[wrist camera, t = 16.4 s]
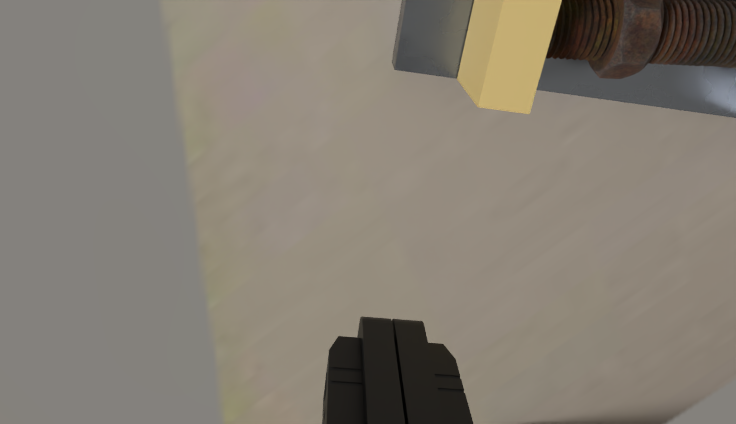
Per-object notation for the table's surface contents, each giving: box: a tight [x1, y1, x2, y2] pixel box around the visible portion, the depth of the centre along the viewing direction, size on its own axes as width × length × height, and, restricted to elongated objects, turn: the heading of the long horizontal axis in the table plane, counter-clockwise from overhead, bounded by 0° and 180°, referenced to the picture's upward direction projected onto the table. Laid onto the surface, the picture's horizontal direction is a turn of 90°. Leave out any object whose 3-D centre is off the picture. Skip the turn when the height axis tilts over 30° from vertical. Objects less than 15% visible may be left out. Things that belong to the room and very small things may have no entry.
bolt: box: [546, 0, 736, 79], centre depth 28 cm, size 6×5×15 cm
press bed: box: [392, 0, 736, 118], centre depth 28 cm, size 10×24×8 cm, turn 82°
